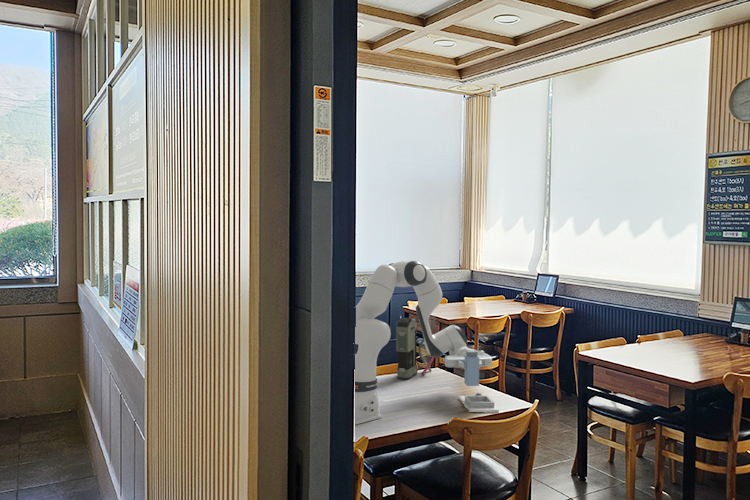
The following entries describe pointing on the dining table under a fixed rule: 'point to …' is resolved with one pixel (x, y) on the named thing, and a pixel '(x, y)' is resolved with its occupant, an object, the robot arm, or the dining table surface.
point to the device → (406, 348)
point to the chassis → (479, 403)
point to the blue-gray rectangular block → (471, 368)
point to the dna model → (426, 350)
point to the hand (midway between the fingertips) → (472, 365)
